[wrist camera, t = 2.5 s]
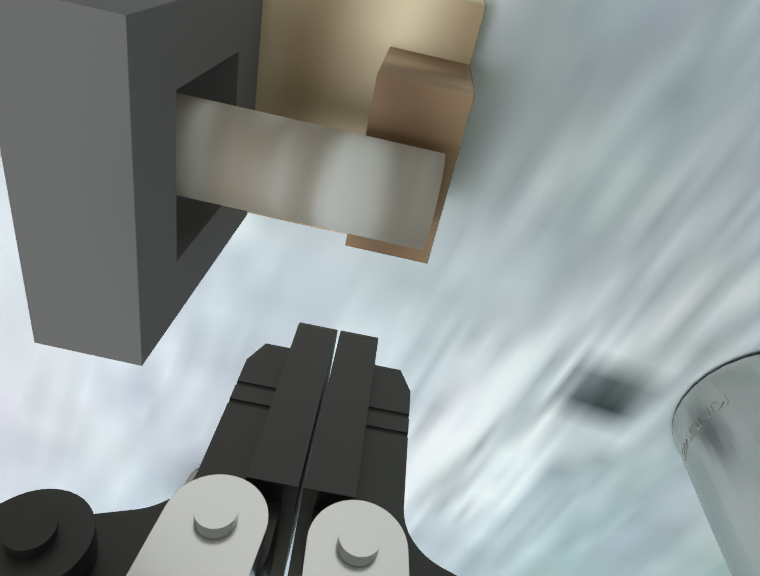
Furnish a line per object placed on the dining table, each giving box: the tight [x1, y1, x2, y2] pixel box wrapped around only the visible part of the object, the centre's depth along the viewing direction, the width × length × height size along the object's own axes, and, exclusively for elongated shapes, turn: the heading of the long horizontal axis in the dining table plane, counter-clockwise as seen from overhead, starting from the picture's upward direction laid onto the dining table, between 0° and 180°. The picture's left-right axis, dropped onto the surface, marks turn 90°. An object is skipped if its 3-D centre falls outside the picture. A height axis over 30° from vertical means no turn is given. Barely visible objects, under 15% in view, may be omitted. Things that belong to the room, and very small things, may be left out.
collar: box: [0, 0, 263, 366], centre depth 17 cm, size 3×9×10 cm, turn 169°
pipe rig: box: [0, 0, 486, 263], centre depth 20 cm, size 24×10×9 cm, turn 79°
